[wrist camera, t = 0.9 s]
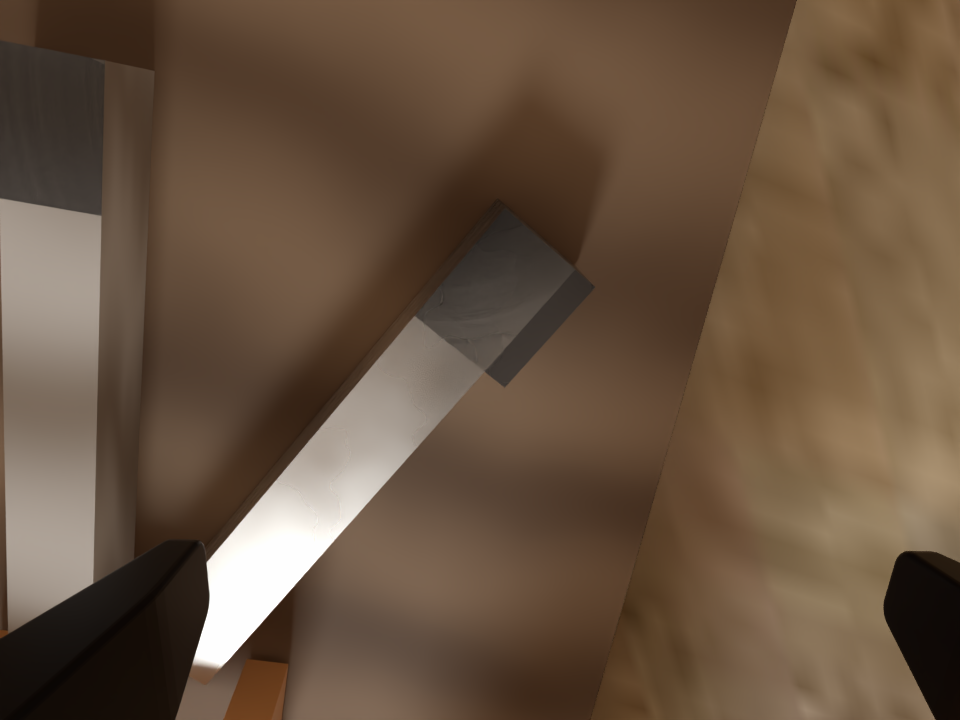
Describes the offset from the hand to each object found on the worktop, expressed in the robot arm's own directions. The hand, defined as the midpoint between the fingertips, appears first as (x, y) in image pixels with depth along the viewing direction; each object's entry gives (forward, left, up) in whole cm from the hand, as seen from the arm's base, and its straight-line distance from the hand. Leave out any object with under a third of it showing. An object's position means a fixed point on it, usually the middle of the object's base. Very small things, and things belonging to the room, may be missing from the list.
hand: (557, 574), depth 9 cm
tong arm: (-3, +3, -10) cm, 11 cm away
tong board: (-3, +6, -11) cm, 13 cm away
